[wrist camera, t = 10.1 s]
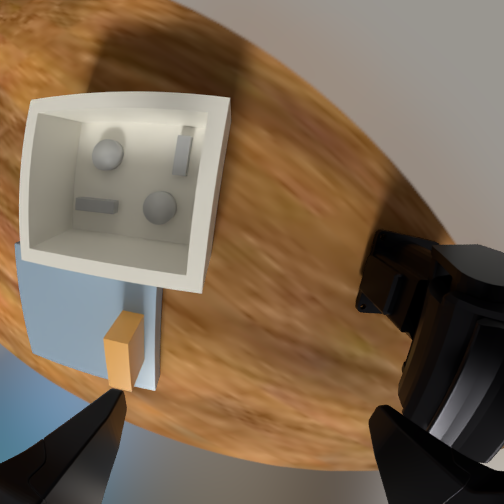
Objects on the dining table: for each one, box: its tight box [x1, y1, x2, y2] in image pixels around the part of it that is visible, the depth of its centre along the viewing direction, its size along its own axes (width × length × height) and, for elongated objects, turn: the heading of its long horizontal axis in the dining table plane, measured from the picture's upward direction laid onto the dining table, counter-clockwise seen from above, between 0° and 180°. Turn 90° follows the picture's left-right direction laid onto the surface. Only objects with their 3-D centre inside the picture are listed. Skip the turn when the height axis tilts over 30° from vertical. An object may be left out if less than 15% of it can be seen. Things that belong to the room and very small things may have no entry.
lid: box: [15, 241, 163, 392], centre depth 17 cm, size 12×10×6 cm
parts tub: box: [19, 92, 231, 294], centre depth 14 cm, size 11×9×6 cm
